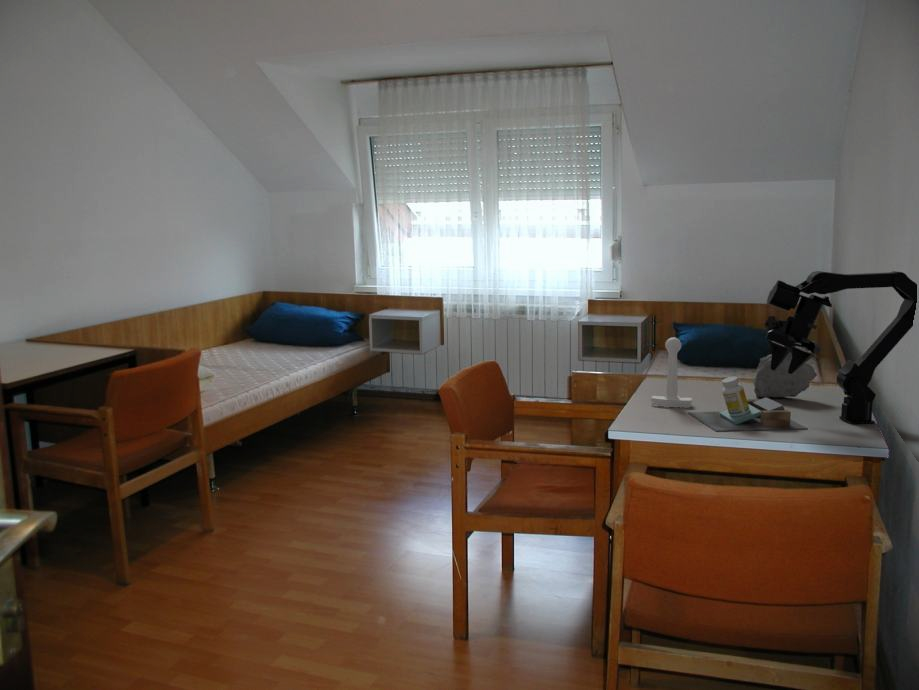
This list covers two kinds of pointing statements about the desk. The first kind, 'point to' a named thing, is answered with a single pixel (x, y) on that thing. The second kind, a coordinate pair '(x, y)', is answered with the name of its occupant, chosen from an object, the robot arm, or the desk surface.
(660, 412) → the desk surface
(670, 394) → the joystick
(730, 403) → the supplement bottle
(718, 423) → the dark grey flat mat
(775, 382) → the fossil
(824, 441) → the desk surface
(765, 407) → the trapdoor
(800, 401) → the desk surface
